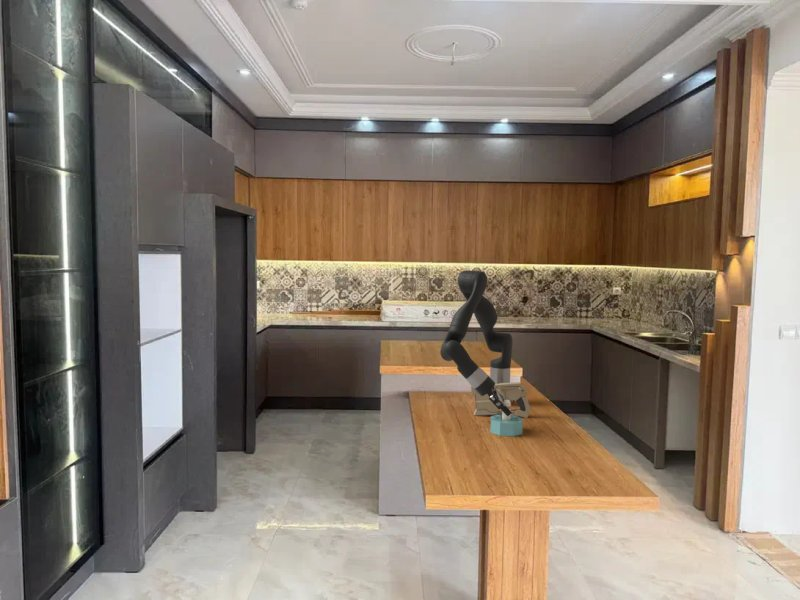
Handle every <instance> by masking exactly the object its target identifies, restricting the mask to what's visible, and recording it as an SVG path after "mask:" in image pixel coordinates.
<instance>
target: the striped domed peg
mask: <svg viewBox="0 0 800 600" xmlns="http://www.w3.org/2000/svg"><path fill="white" fill-rule="evenodd" d="M503 403H504V404H505V406H506V407H507V408H508V409H509V410H510V411H511V410H512V402H511V400H510V401H509V400H507V399H506V400H504V401H503ZM501 411H502V410H501ZM511 412H512V411H511ZM511 415H512V414H510V415H509V416H507V415H506V414H505V413H504V412H503V411H502V420H505V421H510V419H511Z"/></svg>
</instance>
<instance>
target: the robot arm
mask: <svg viewBox="0 0 800 600" xmlns="http://www.w3.org/2000/svg"><path fill="white" fill-rule="evenodd" d="M457 284H458V288H459V290H460V292H461V293H462V295H463V297H464V298H465V300H466V301H465V302H464V303H463V305H462V306H460V307H459V308H458V309H457V310H456V312H455V313H454V315H453V317H452V319H451V321H450V325H449V328H448V332H447V333H446V336H445V338H444V340H443V342H442V344H441V347H440V351H439V352H440V357H441V359H443V360H444V361H446V362H451V361H453V362H454V363H455V364H456V368H457V371H458V372H459V374H461V376H463V378H464V379H466V381H467V382H468V384H469V385H470V387H471V386H472V387H473V388H474V389H475V390H476V391H477V392H478V393H479V394H480V395H481V396H484V395H485V394H488V396H489V400H491V402H492V403H493V404H494V405H495V406H496V407H497V408H498V409H499V411H503V412H504V413H505V414H506V415H507V416H509V415H510V414H511V412H512V411H510V410H509V409H508V408H507V407H506V406H505V404H504V403H503V401H504V400H505V399H504V398H503V396H502V395H501V394H500V393H499V392H498V391H497V390H496V389H495V387H494V386H495V384H499V383H511V364H512V363H511V362H512V356H513V355H512V354H513V353H512V352H513V336H512V334H511V333H508V332H499V331H498V332H497V331H495V330H494V327H495V325H496V324H497V322H498V313H497V310H496V308H495V306H494V304H493V302H491V300H489V299H488V298H487V297H486V296H484V293H485V291H486V289H487V287H488V286H487V285H488V276H487V274H486V273H485V271H481V270H469V269H467V270H462V271H460V273H458V276H457ZM473 315H474V317H475V319H476V322H477V323H478V325H479V327H480V329H481V332H482V333H483V334H482V335H483V337H484V340H485V343H486V346H487V348H488V350H489V351H490V352H493V353H501V356H500V357H498V358H495V359H492V360H490V362H489V363H490V364H489V365H490V367H489V375H488V373H487V372H485V371H484V370H483V369H482V368H481V367H480V366H479V365H478V364H477V363H476V362H475V361H474V360H473V359H472V357H471V356H470V354H469V353H468V351H467V350H466V349H465V347H464V346H463V345H462V341H463V340H464V339H465V337H466V335H467V332H468V329H469V326H470V323H471V320H472V317H473ZM509 401H510V402H511V400H509ZM499 404H500V405H499ZM511 415H512V414H511Z"/></svg>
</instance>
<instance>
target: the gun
mask: <svg viewBox="0 0 800 600" xmlns="http://www.w3.org/2000/svg"><path fill="white" fill-rule="evenodd" d="M494 387H495V389H496V390H497V391H498V392H499V393H500V394H501V395H502V396H503V398H504V399H505V400H506V399H507V400H510V401H512V404H515V401H516V402H517V406H518V407H519V408H516V409H511V415H514V416H517V417H521V418H526V419H528V417H529V415H530V412H531V408H532V407H531V406H530V403H529V400H528V398H527V395H526V394H527V393H528V391H529V390H528V388H527V387H526V386H524V385H523V384H522V383H521V382H520V381H517V382H510V383H499V384H495V386H494ZM470 388H471V397H472V396H473V397H474V398H475V399H474V400H475V401H474V402H475V410H474V412H473V415H474V416H475V417H486V416H494V415H499V414H502V410H499V409H498V408H497V407H496V406H495V405H494V404H493V403H492V402H491V400H489V396H488V394H485V395H484V396H481V395H480V394H479V393H478V392H477V391H476V390H475V389H474V388H473V387H472V386H471V385H470ZM521 389H523V390H521ZM499 405H500V404H499Z"/></svg>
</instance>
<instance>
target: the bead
mask: <svg viewBox="0 0 800 600" xmlns="http://www.w3.org/2000/svg"><path fill="white" fill-rule="evenodd" d="M523 422H524V421H523V417H520V416H516V415H512V414H511V419H510V421H505V420H502V414H499V415H490V433H491V434H493V435H494V434H495V435H496V436H498V437H499V436H502V437H516V436H521V435H523V425H524V424H523Z"/></svg>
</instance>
